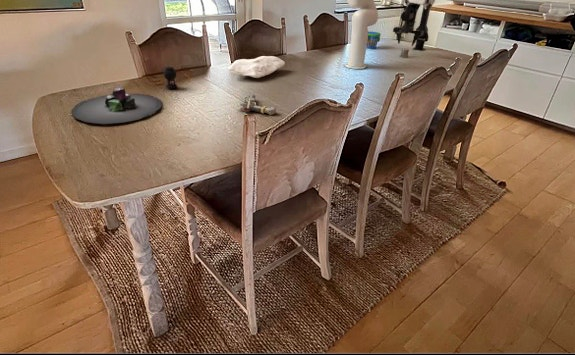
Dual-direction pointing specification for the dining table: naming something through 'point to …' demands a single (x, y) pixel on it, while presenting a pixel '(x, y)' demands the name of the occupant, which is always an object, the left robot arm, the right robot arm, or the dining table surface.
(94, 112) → the grey flat disc
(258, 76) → the crumpled cloth
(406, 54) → the canister
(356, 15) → the left robot arm
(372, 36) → the snack cup
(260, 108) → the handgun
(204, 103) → the dining table surface
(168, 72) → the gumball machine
